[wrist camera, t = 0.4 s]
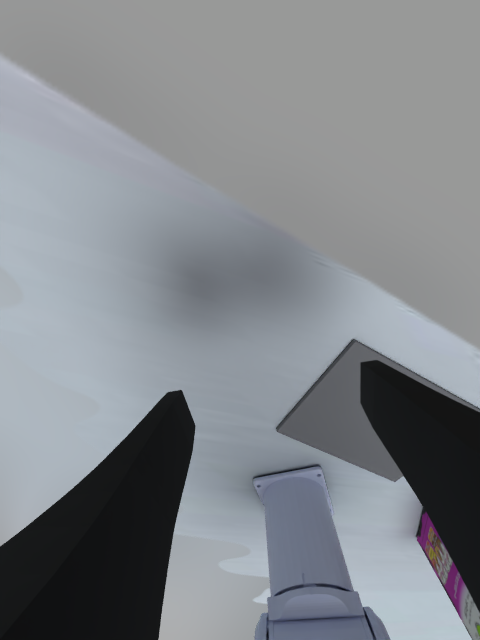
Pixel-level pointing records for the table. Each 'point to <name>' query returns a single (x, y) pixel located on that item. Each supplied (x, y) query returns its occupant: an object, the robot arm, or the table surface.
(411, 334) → the table surface
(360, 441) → the mat
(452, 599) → the candy bar box
